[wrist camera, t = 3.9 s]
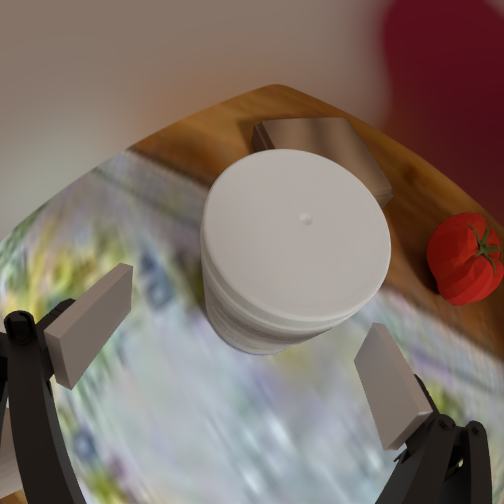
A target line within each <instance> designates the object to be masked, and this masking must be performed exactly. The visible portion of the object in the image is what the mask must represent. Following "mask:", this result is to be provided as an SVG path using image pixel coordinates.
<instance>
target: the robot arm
mask: <svg viewBox="0 0 504 504" xmlns="http://www.w3.org/2000/svg"><path fill="white" fill-rule="evenodd" d="M132 275H133V266H130V265H127V264H124V263H119V264H118V265H117V266H116V267H115V268H113V269H112V270H111V271H110V272H109V273H107V274H106V275H105V276H104V277H103V278H101V279H100V280H99V281H98V282H97V283H96V284H94V285H93V286H92V287H91V288H90V289H89V290H88V291H86V292H85V293H84V294H83V295H82V296H81V297H80V298H79V299H77V300H73V299H71V298H70V299H67V300H65V301H62V302H60V303H59V304H58V305H57V306H56V307H55V308H54V309H52V310H51V311H50V312H49V314H47V315H45V316H44V317H43V318H42V319H41V320H40V321H39V322H38V323H37V324H35V322H34V318H33V316H32V315H31V314H30V313H29V312H26V311H21V310H19V311H14V312H11V313H9V314H8V315H7V316H6V317H5V319H4V325H5V329H6V333H7V334H6V333H2V332H0V447H1V437H2V429H3V421H4V415H5V409H6V403H7V398H9V412H10V422H11V430H12V437H13V443H14V449H15V455H16V460H17V464H18V469H19V473H20V477H21V481H22V485H23V489H24V492H25V496H26V499H27V502H28V504H87V503H86V501H85V499H84V496H83V494H82V492H81V489H80V487H79V484H78V482H77V479H76V476H75V474H74V471H73V468H72V465H71V462H70V459H69V456H68V453H67V450H66V447H65V443H64V440H63V436H62V433H61V429H60V425H59V421H58V417H57V412H56V408H55V403H54V398H53V393H52V387H51V383H50V378H51V377H52V375H53V374H54V375H55V378H56V381H57V383H58V384H60V385H62V386H64V387H66V388H68V389H70V390H72V389H73V387H74V386H75V385H76V383H77V382H78V380H79V379H80V377H81V376H82V375H83V373H84V372H85V370H86V369H87V368H88V366H89V365H90V364H91V362H92V361H93V359H94V358H95V357H96V355H97V354H98V353H99V351H100V350H101V349H102V347H103V346H104V345H105V343H106V342H107V341H108V339H109V338H110V337H111V335H112V334H113V333H114V331H115V330H116V329H117V327H118V326H119V325H120V324H121V322H122V321H123V320H124V318H125V317H126V316H127V315H128V313H129V312H130V311H131V293H132ZM354 363H355V366H356V368H357V371H358V374H359V377H360V380H361V382H362V385H363V388H364V391H365V394H366V397H367V400H368V403H369V406H370V409H371V412H372V415H373V418H374V421H375V424H376V427H377V430H378V433H379V436H380V440H381V443H382V446H383V449H384V451H391V450H398V449H399V448H400V447H401V446H402V445H403V444H404V443H406V446H407V448H406V449H405V450H404V451H403V452H402V453H401V454H400V455H399V456H398V457H397V458H396V459H395V460H394V462H396V461H397V460H398V459H399V461H398V463H397V465H396V467H395V469H394V471H393V473H392V475H391V477H390V478H389V480H388V482H387V484H386V486H385V487H384V489H383V491H382V493H381V494H380V496H379V498H378V499H377V501H376V503H375V504H492V480H491V466H490V456H489V448H488V441H487V434H486V430H485V428H484V427H483V425H482V424H481V423H480V422H477V421H470V422H469V423H468V424H467V425H466V426H465V428H464V427H459V426H456V424H455V422H454V421H453V419H452V418H450V417H449V416H447V415H445V414H440V413H439V411H438V409H437V408H436V406H435V404H434V402H433V400H432V398H431V396H430V395H429V393H428V391H427V390H426V387H425V385H424V384H423V382H422V380H421V379H420V378H419V377H418V376H417V375H416V374H413V372H412V371H411V369H410V367H409V365H408V364H407V362H406V360H405V358H404V357H403V355H402V353H401V351H400V350H399V348H398V346H397V345H396V343H395V341H394V340H393V338H392V336H391V335H390V333H389V331H388V330H387V328H386V326H385V325H383V324H378V323H373V325H372V327H371V329H370V331H369V333H368V335H367V337H366V338H365V340H364V342H363V344H362V346H361V348H360V350H359V352H358V354H357V355H356V357H355V359H354ZM462 460H463V464H462V466H460V467H459V462H460V461H462Z"/></svg>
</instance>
